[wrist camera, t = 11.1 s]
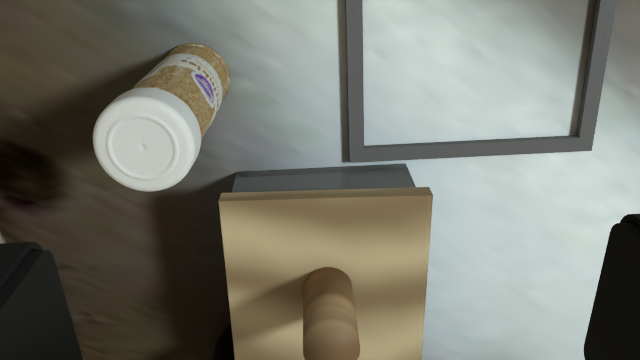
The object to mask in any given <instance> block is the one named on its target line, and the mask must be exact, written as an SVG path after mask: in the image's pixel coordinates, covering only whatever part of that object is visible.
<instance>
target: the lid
mask: <svg viewBox="0 0 640 360" xmlns="http://www.w3.org/2000/svg"><path fill="white" fill-rule="evenodd" d="M432 200H433V195H432V193H431V190H430V188H429V187H414V188H378V189H343V190H308V191H272V192H237V193H221V196H220V199H219V210H220V219H221V229H222V239H223V249H224V258H225V268H226V278H227V287H228V297H229V307H230V317H231V326H232V336H233V346H234V355H235V360H421V358H422V344H423V329H424V315H425V301H426V286H427V272H428V258H429V243H430V229H431V215H432Z"/></svg>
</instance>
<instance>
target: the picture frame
mask: <svg viewBox="0 0 640 360" xmlns="http://www.w3.org/2000/svg"><path fill="white" fill-rule="evenodd" d="M615 6H616V0H597V3H596V9H595V16H594V22H593V29H592V35H591V42H590V49H589V55H588V62H587V68H586V75H585V82H584V88H583V95H582V101H581V108H580V114H579V121H578V128H577V134H576V136H556V137H536V138H515V139H495V140H475V141H454V142H434V143H414V144H393V145H373V146H364V111H363V23H362V0H346V38H347V82H348V125H349V161H350V163H351V162H372V161H392V160H412V159H432V158H453V157H473V156H493V155H513V154H534V153H554V152H574V151H592V145H593V139H594V133H595V127H596V121H597V115H598V109H599V103H600V97H601V91H602V85H603V79H604V73H605V67H606V61H607V55H608V49H609V43H610V36H611V30H612V24H613V18H614V12H615Z"/></svg>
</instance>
